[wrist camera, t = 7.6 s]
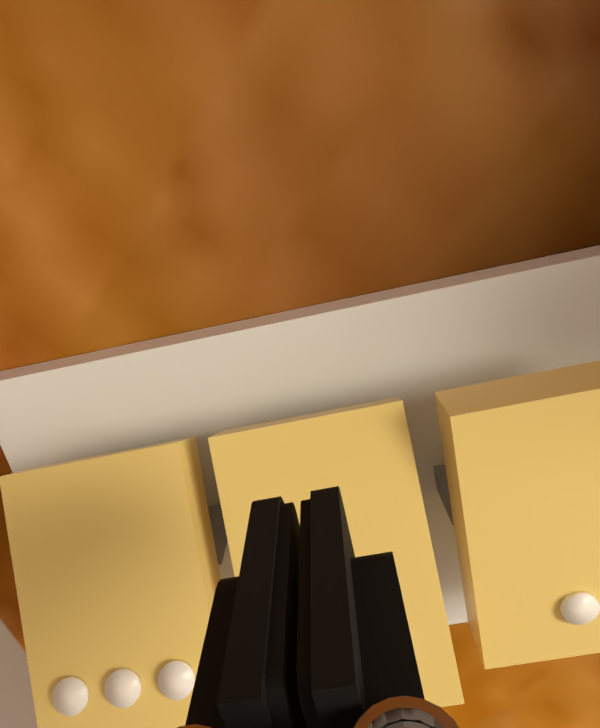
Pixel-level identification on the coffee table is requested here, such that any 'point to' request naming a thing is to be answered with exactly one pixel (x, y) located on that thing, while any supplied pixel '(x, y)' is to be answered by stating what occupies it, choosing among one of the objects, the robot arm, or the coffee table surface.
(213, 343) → the board
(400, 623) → the robot arm
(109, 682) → the key
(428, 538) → the key
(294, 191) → the coffee table surface
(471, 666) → the coffee table surface
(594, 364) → the key
